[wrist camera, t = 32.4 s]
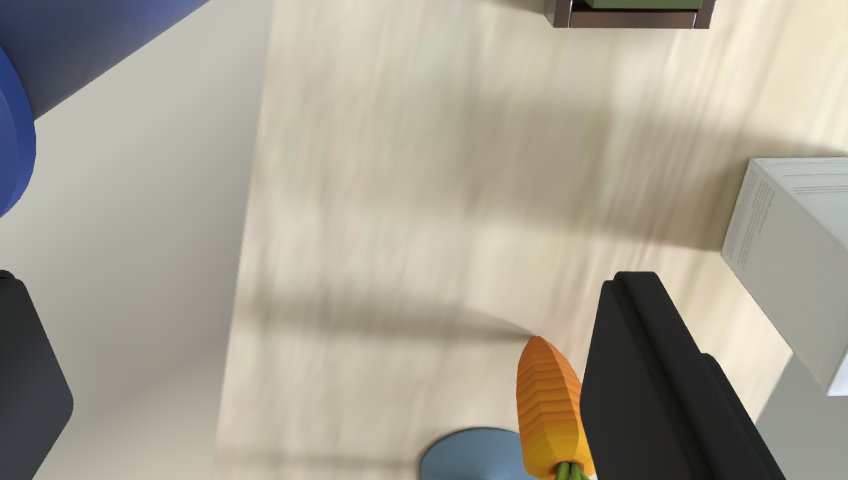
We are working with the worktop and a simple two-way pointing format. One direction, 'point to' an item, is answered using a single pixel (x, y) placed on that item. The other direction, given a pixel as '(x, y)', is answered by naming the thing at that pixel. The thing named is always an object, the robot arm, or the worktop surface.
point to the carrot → (550, 415)
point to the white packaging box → (797, 257)
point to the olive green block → (646, 4)
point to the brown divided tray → (626, 16)
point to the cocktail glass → (476, 457)
